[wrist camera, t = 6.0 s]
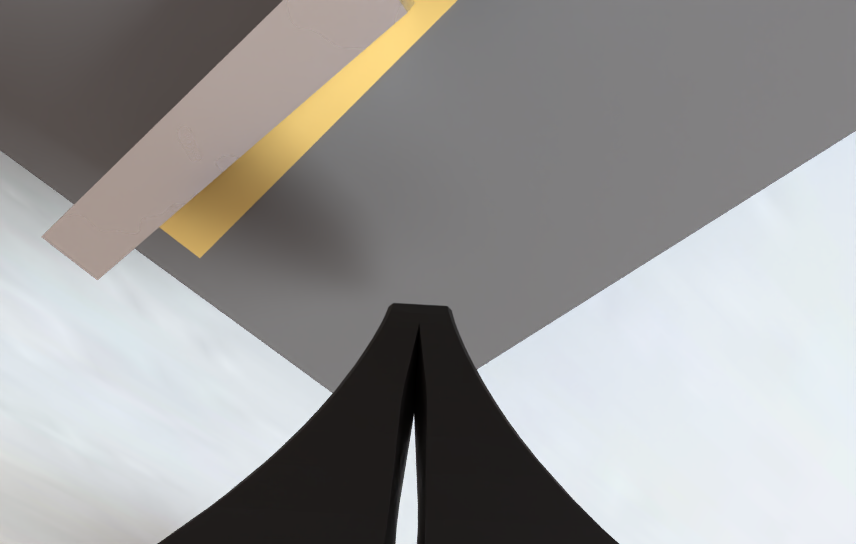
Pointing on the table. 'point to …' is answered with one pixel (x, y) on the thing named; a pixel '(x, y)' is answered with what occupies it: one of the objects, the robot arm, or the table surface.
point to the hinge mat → (440, 149)
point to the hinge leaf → (219, 123)
